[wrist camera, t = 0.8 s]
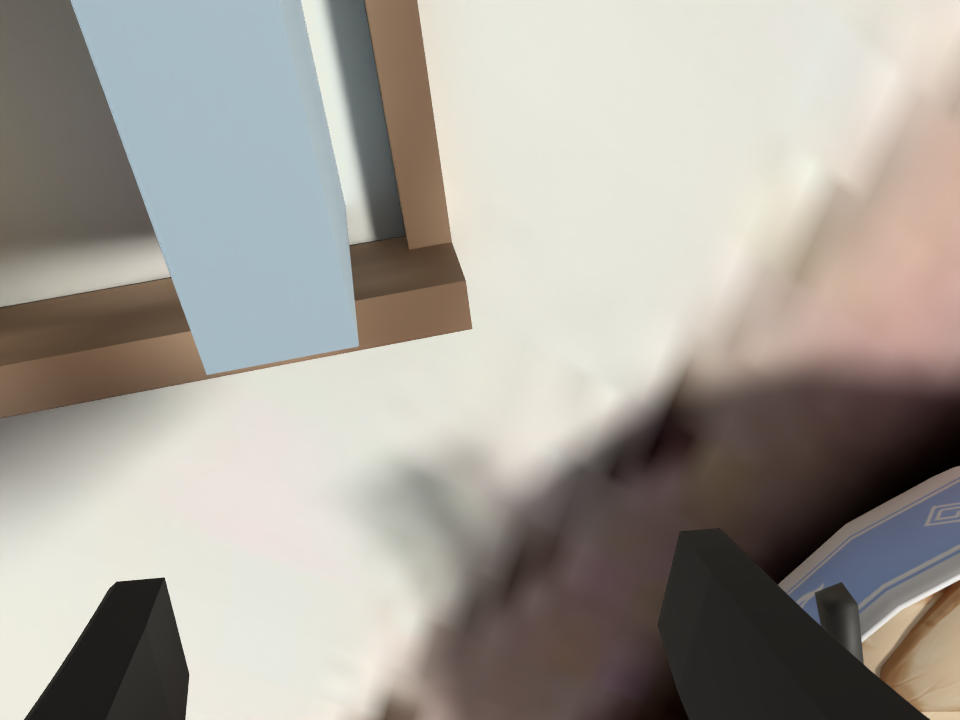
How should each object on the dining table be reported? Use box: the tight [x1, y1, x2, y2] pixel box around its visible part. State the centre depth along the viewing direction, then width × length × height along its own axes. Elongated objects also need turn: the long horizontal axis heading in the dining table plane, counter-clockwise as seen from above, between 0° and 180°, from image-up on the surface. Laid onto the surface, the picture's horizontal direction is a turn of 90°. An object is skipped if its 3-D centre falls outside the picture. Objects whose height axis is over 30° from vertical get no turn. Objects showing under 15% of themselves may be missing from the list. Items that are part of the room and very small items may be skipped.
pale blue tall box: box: [70, 0, 359, 375], centre depth 14 cm, size 2×7×6 cm, turn 6°
